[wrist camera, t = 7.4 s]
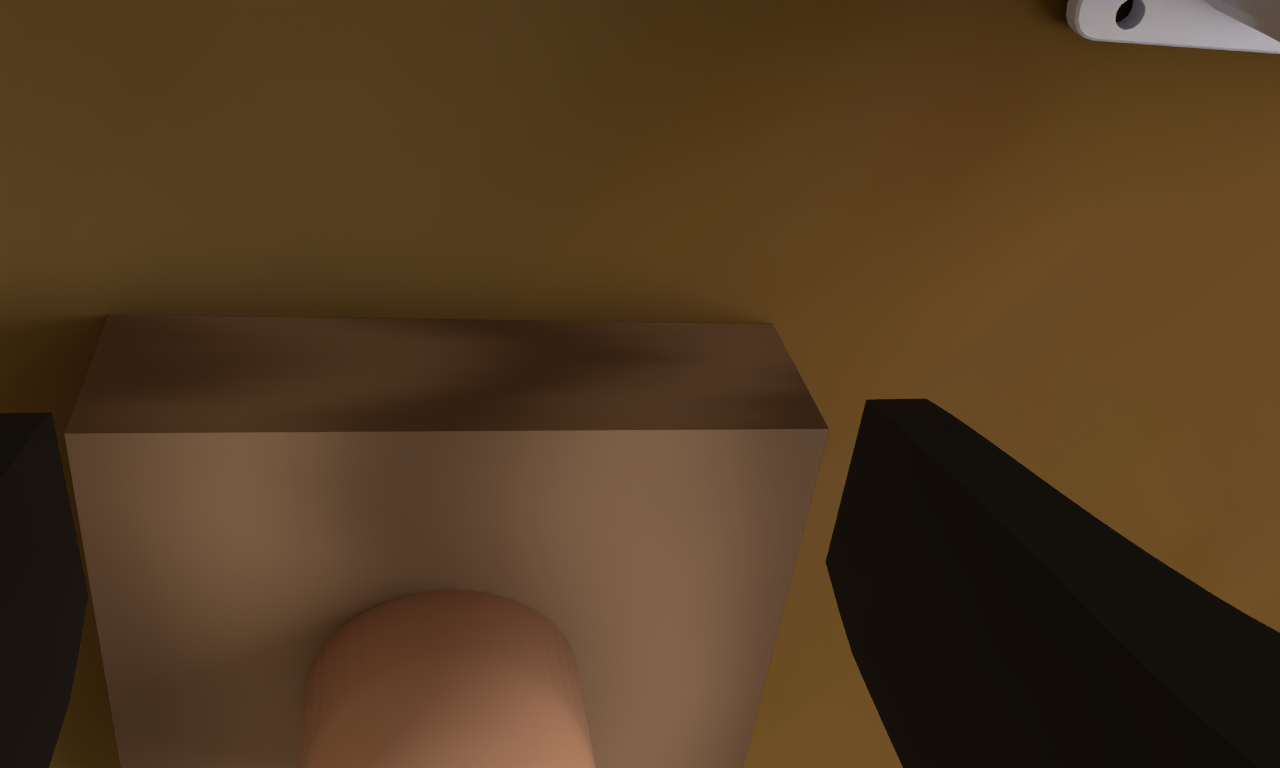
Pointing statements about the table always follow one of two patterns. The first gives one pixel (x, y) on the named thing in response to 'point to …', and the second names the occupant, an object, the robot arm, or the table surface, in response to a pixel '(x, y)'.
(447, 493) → the walnut block
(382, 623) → the terracotta cylinder
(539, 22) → the table surface
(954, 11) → the table surface
